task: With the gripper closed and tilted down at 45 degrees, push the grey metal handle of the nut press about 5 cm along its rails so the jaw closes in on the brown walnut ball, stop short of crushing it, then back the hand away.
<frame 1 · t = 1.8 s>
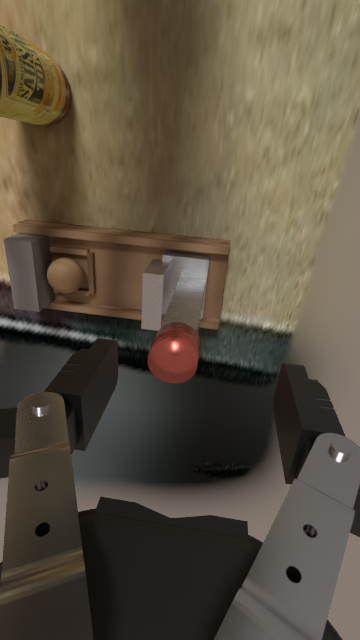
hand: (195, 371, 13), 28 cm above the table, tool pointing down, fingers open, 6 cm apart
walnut: (72, 270, 41), point 1 cm above the table, touching nut press
nut press: (125, 271, 42), on the table
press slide: (170, 313, 32), point 10 cm above the table, slide at 0.0 cm
sauce bottle: (44, 89, 34), on the table
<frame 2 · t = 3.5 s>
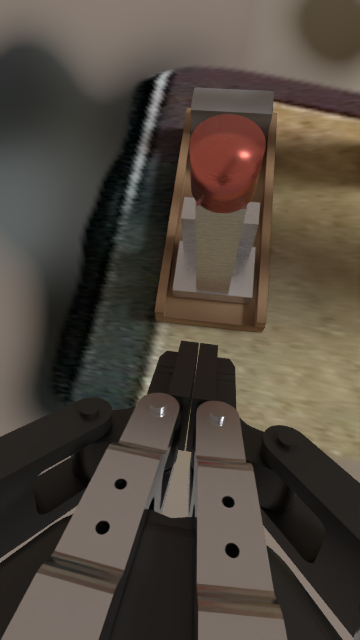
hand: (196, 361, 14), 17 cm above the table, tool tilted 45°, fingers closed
nut press: (220, 218, 36), on the table
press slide: (219, 220, 25), point 10 cm above the table, slide at 0.0 cm
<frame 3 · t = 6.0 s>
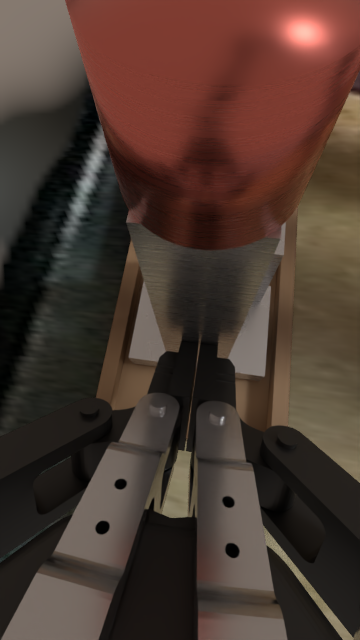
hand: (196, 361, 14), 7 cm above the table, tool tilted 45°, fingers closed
nut press: (211, 253, 23), on the table
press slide: (207, 249, 12), point 10 cm above the table, slide at 1.5 cm, touching gripper
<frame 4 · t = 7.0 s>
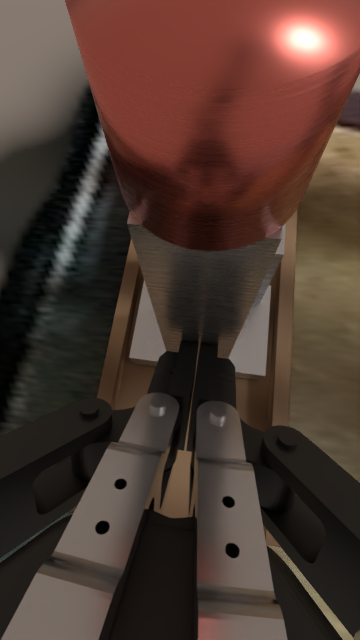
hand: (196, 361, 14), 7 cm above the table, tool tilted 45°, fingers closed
nut press: (204, 307, 22), on the table
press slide: (208, 249, 12), point 10 cm above the table, slide at 5.5 cm, touching gripper
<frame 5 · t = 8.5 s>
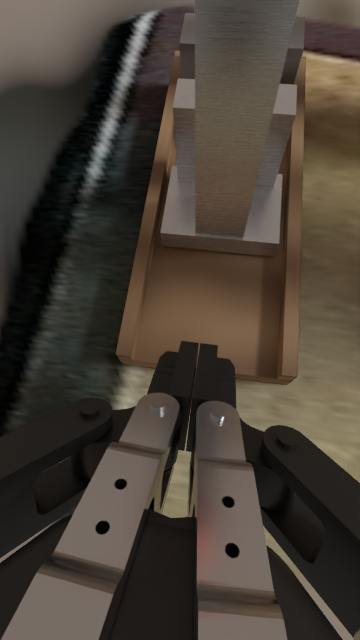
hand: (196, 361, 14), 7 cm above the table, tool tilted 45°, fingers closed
nut press: (222, 209, 25), on the table
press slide: (235, 94, 15), point 10 cm above the table, slide at 5.5 cm
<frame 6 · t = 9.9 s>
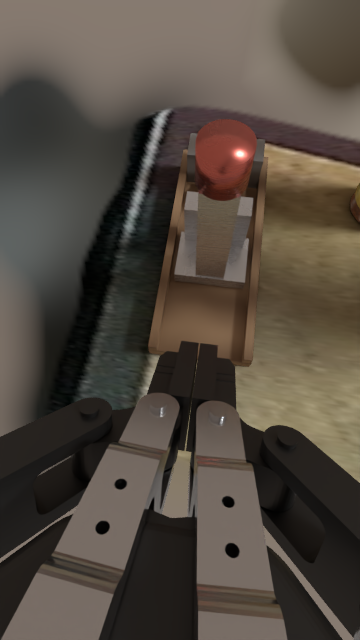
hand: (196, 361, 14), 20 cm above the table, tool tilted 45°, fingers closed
nut press: (212, 255, 38), on the table
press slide: (217, 211, 28), point 10 cm above the table, slide at 5.5 cm
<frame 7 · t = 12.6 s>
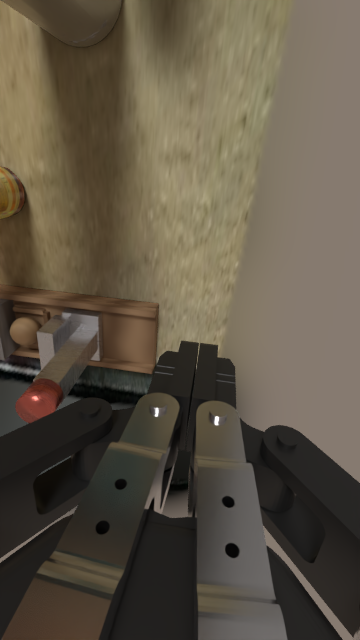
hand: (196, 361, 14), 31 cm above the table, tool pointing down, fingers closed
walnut: (33, 324, 50), point 1 cm above the table, touching nut press
nut press: (76, 324, 51), on the table
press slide: (57, 363, 41), point 10 cm above the table, slide at 5.5 cm
sauce bottle: (4, 188, 43), on the table
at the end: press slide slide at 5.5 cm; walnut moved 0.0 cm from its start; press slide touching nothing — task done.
